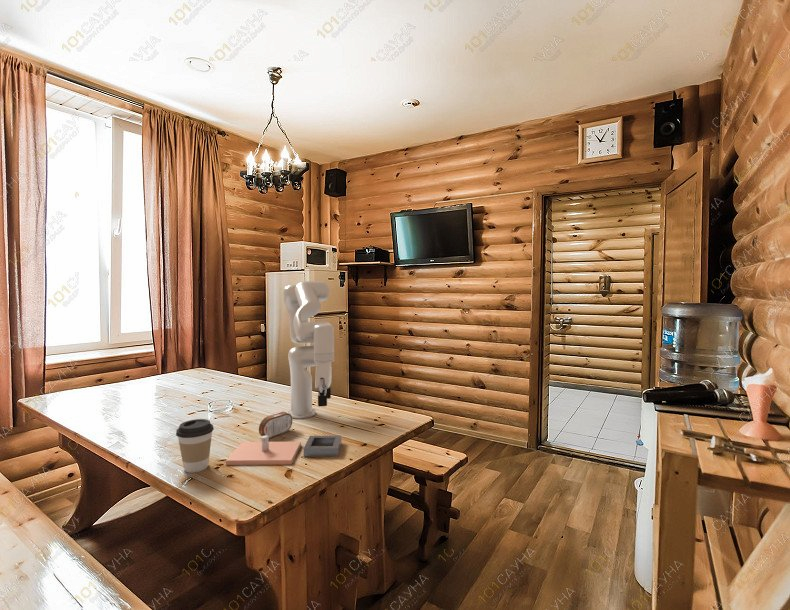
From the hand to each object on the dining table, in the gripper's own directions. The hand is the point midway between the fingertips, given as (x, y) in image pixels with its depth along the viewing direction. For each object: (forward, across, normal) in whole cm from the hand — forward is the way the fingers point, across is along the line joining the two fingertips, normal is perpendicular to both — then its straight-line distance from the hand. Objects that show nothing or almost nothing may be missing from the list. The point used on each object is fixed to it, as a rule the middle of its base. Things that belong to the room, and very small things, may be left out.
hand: (324, 402), depth 157 cm
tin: (+17, -10, -21) cm, 29 cm away
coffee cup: (+17, +19, -40) cm, 47 cm away
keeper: (+16, +9, -20) cm, 27 cm away
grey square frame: (+16, +5, 0) cm, 17 cm away
